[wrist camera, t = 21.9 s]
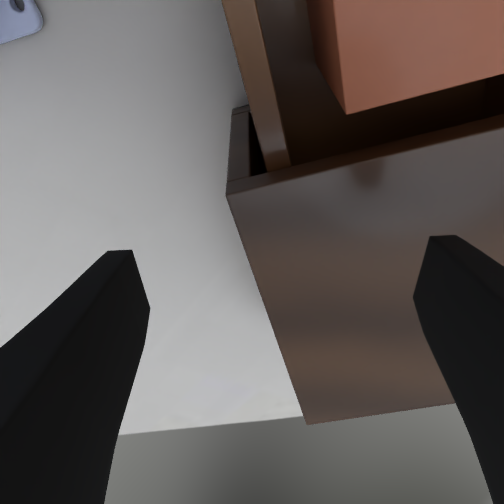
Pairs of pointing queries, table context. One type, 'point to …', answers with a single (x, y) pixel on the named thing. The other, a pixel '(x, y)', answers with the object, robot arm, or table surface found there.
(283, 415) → the table surface
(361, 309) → the cabinet
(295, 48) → the drawer
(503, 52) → the block
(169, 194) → the table surface
